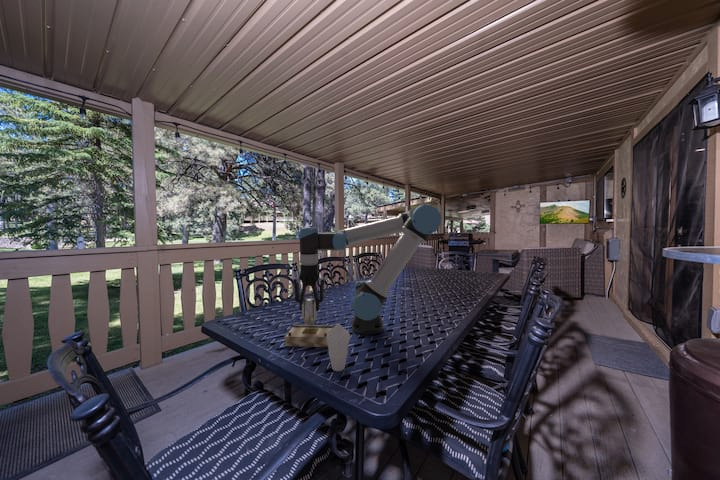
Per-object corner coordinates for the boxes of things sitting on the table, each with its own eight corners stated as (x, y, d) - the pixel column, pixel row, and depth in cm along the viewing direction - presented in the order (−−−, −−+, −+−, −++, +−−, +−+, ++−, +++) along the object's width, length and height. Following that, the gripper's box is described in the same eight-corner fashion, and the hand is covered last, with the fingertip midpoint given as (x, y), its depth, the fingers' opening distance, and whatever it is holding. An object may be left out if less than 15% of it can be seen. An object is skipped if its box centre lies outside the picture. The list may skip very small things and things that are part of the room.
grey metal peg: (316, 320, 118) (315, 298, 117) (313, 324, 113) (313, 301, 113) (306, 320, 118) (305, 298, 118) (303, 324, 114) (302, 301, 113)
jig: (333, 334, 122) (333, 324, 121) (328, 347, 110) (328, 334, 109) (294, 334, 123) (294, 323, 123) (285, 346, 111) (284, 334, 111)
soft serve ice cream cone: (326, 362, 97) (326, 319, 96) (349, 361, 98) (349, 318, 97) (325, 375, 89) (325, 327, 88) (351, 374, 90) (350, 326, 89)
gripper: (330, 262, 117) (331, 315, 119) (291, 262, 119) (292, 314, 120) (327, 265, 110) (328, 321, 111) (285, 265, 111) (286, 320, 113)
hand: (309, 317), depth 116 cm, fingers closed on grey metal peg, 4 cm apart
